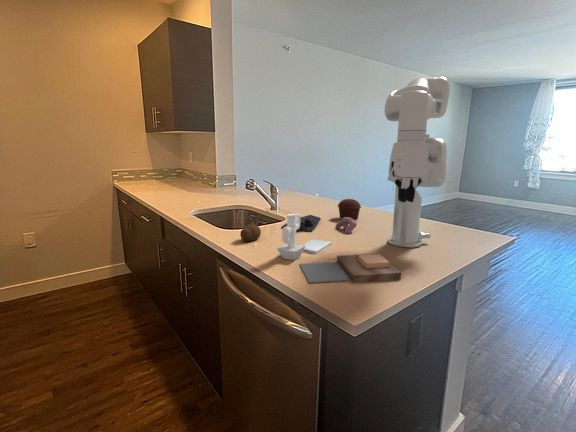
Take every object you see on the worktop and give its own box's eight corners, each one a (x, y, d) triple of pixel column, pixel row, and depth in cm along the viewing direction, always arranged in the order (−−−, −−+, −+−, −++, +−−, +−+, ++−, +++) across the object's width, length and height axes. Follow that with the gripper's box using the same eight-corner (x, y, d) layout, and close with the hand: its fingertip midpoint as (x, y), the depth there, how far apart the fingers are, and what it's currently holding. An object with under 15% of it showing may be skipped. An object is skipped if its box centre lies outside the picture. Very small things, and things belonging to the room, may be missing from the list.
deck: (377, 259, 107) (377, 253, 107) (400, 279, 92) (401, 272, 91) (336, 261, 105) (337, 255, 105) (353, 282, 90) (354, 275, 89)
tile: (379, 258, 102) (379, 254, 102) (389, 267, 95) (389, 262, 95) (358, 259, 101) (358, 255, 101) (366, 268, 94) (367, 263, 94)
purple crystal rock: (353, 236, 138) (360, 221, 138) (345, 232, 137) (352, 218, 136) (341, 230, 147) (347, 217, 147) (333, 227, 146) (340, 213, 145)
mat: (336, 262, 104) (336, 261, 104) (350, 280, 91) (350, 279, 90) (299, 264, 102) (299, 263, 102) (309, 283, 89) (309, 282, 89)
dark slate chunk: (325, 222, 158) (326, 213, 157) (310, 234, 138) (311, 223, 137) (297, 219, 164) (297, 210, 163) (278, 230, 144) (278, 220, 143)
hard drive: (312, 238, 126) (296, 247, 116) (331, 242, 122) (316, 251, 112) (312, 242, 127) (296, 251, 117) (331, 246, 123) (316, 255, 112)
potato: (236, 241, 126) (235, 226, 125) (251, 235, 134) (251, 221, 133) (249, 244, 123) (248, 228, 121) (264, 238, 131) (264, 223, 129)
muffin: (362, 217, 167) (363, 198, 164) (358, 222, 157) (359, 202, 154) (340, 215, 171) (340, 197, 169) (334, 220, 161) (335, 200, 159)
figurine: (275, 259, 107) (274, 215, 104) (289, 251, 115) (289, 210, 112) (294, 263, 103) (294, 218, 100) (307, 254, 111) (307, 212, 108)
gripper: (429, 137, 96) (423, 198, 100) (379, 137, 94) (375, 200, 98) (444, 137, 89) (437, 203, 93) (391, 137, 86) (386, 204, 90)
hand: (405, 201), depth 95 cm, fingers closed
